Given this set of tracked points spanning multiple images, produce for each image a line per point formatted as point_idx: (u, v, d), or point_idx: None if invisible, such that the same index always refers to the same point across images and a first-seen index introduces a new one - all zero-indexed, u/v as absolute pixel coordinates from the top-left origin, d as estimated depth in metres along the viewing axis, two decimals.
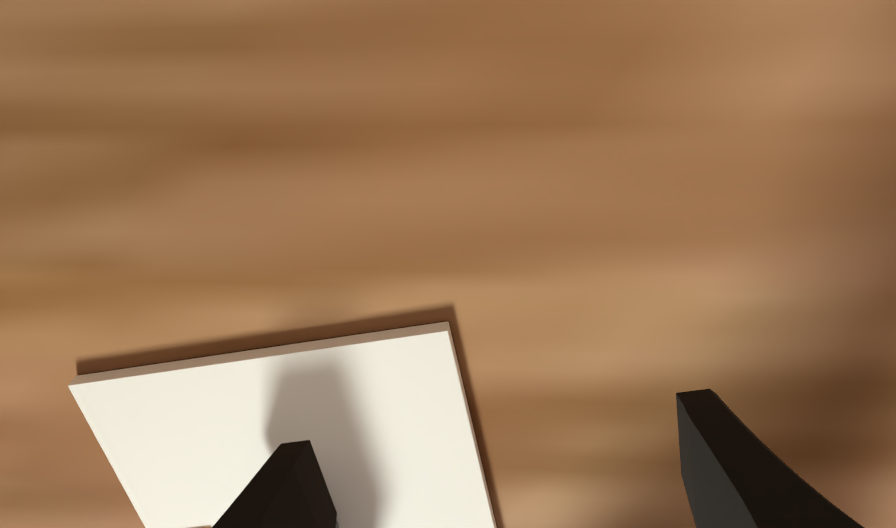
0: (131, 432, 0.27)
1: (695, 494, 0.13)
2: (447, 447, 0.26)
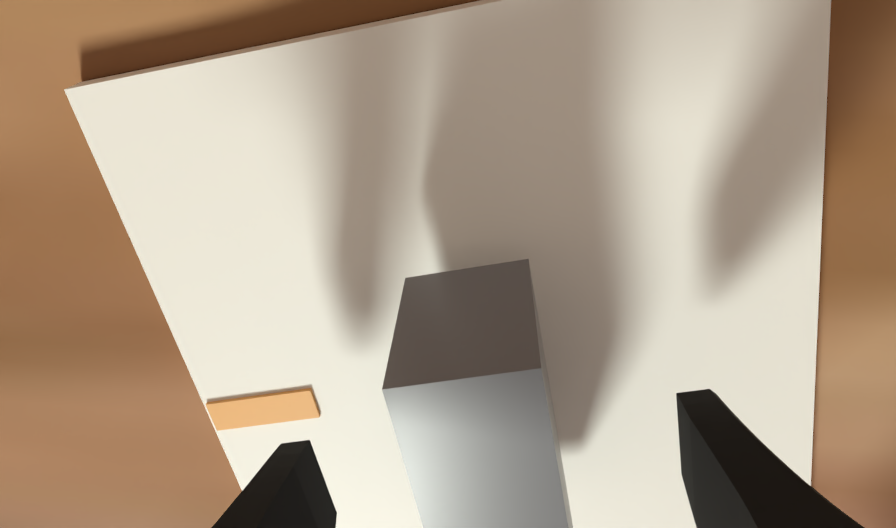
0: (180, 194, 0.14)
1: (695, 494, 0.13)
2: (769, 215, 0.14)
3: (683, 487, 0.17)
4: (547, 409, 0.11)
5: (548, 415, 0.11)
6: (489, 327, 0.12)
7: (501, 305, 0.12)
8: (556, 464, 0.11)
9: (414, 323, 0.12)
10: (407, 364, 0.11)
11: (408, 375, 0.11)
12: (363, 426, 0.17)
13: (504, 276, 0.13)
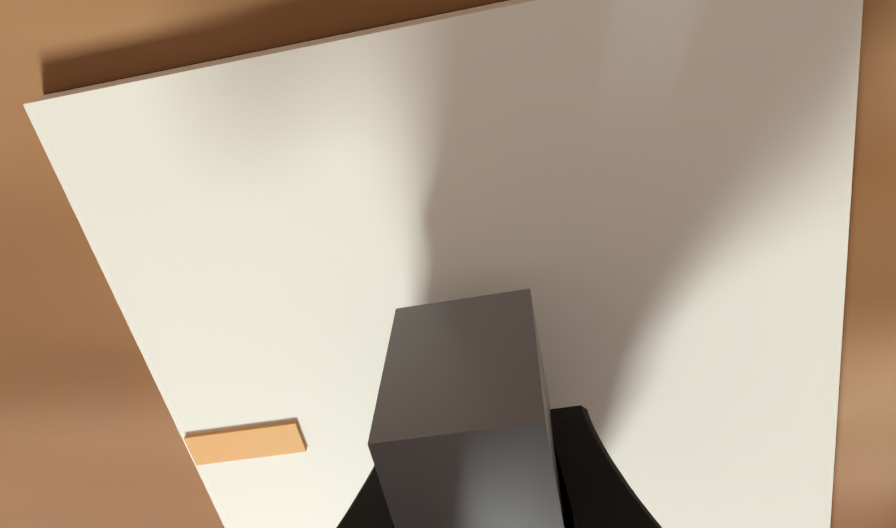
0: (152, 216, 0.13)
1: None
2: (791, 239, 0.13)
3: (694, 524, 0.16)
4: (552, 465, 0.10)
5: (553, 471, 0.10)
6: (486, 370, 0.10)
7: (500, 344, 0.11)
8: (561, 523, 0.10)
9: (405, 362, 0.11)
10: (396, 413, 0.10)
11: (397, 427, 0.10)
12: (353, 460, 0.16)
13: (503, 309, 0.12)
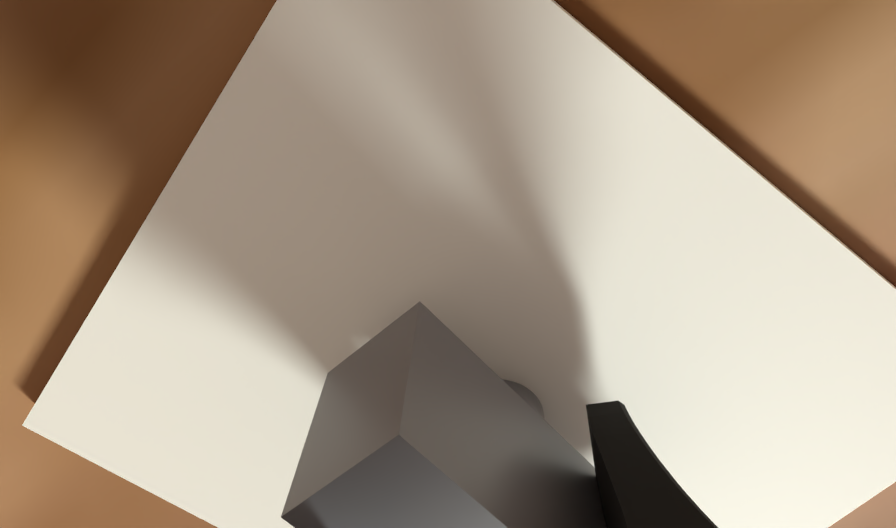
0: (147, 439, 0.16)
1: (602, 504, 0.13)
2: (578, 105, 0.12)
3: (771, 389, 0.15)
4: (437, 467, 0.10)
5: (444, 472, 0.10)
6: (371, 402, 0.11)
7: (387, 370, 0.11)
8: (489, 513, 0.10)
9: (321, 423, 0.12)
10: (304, 477, 0.11)
11: (302, 490, 0.10)
12: None
13: (397, 332, 0.12)
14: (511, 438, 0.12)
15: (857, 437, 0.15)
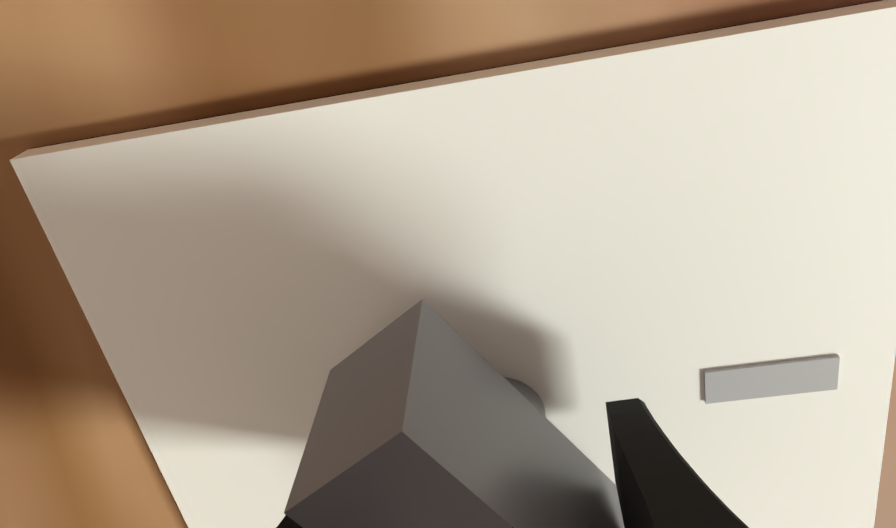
0: None
1: (622, 502, 0.13)
2: (283, 168, 0.13)
3: (684, 212, 0.13)
4: (439, 464, 0.10)
5: (446, 469, 0.10)
6: (375, 399, 0.11)
7: (390, 367, 0.11)
8: (491, 510, 0.10)
9: (324, 420, 0.12)
10: (307, 474, 0.11)
11: (305, 487, 0.10)
12: None
13: (400, 330, 0.12)
14: (513, 436, 0.12)
15: (821, 178, 0.13)
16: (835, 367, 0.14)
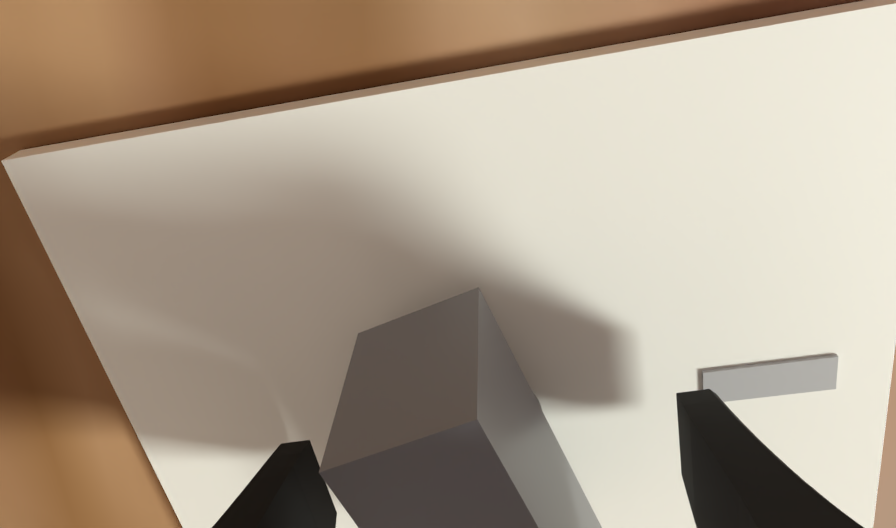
0: None
1: (695, 494, 0.13)
2: (277, 168, 0.13)
3: (681, 211, 0.13)
4: (499, 460, 0.10)
5: (503, 466, 0.10)
6: (431, 378, 0.11)
7: (446, 348, 0.11)
8: (529, 515, 0.10)
9: (360, 385, 0.11)
10: (346, 437, 0.10)
11: (345, 450, 0.10)
12: None
13: (452, 313, 0.12)
14: (537, 443, 0.12)
15: (818, 177, 0.12)
16: (834, 367, 0.14)
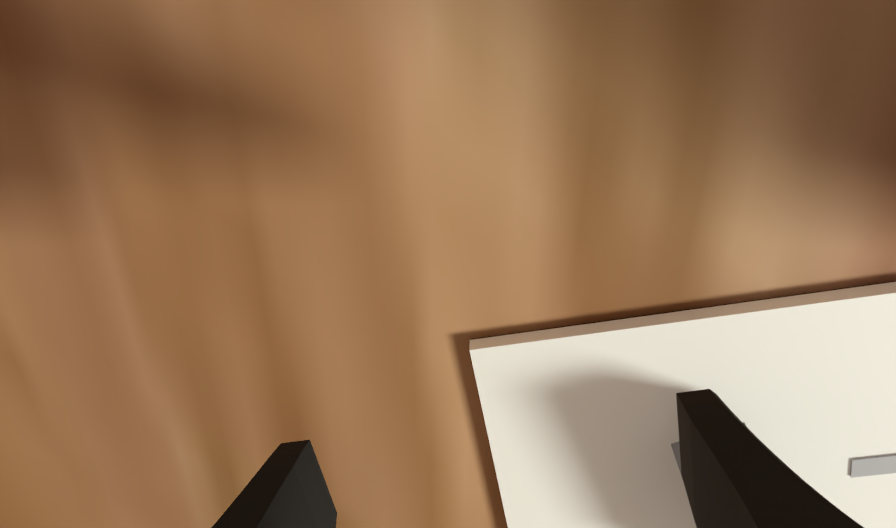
0: None
1: (695, 494, 0.13)
2: (625, 355, 0.23)
3: (849, 377, 0.23)
4: None
5: None
6: None
7: None
8: None
9: None
10: None
11: None
12: None
13: None
14: None
15: None
16: None
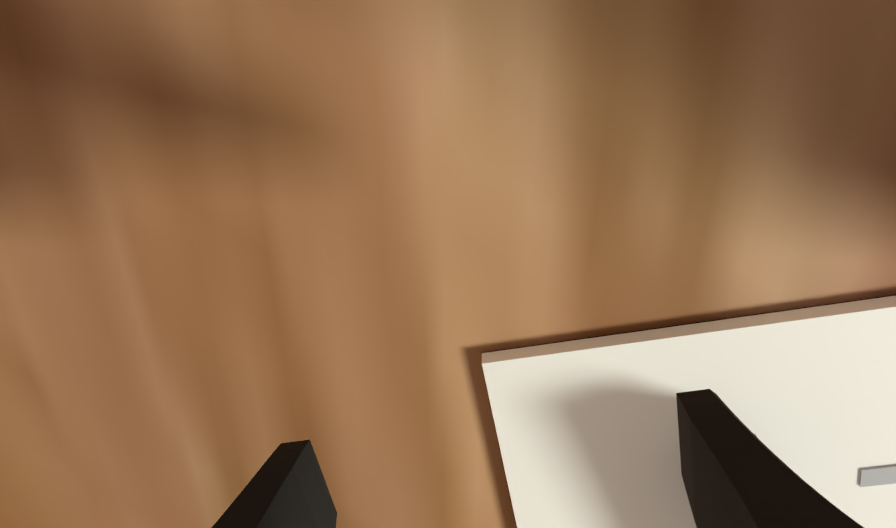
0: None
1: (695, 494, 0.13)
2: (636, 367, 0.23)
3: (858, 388, 0.23)
4: None
5: None
6: None
7: None
8: None
9: None
10: None
11: None
12: None
13: None
14: None
15: None
16: None
